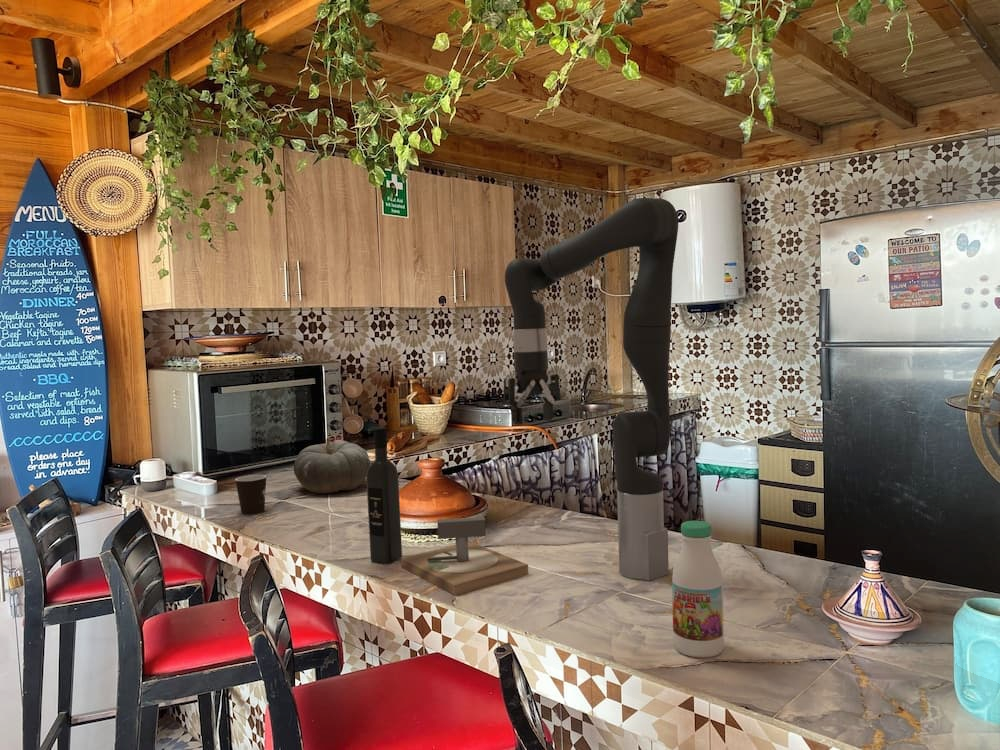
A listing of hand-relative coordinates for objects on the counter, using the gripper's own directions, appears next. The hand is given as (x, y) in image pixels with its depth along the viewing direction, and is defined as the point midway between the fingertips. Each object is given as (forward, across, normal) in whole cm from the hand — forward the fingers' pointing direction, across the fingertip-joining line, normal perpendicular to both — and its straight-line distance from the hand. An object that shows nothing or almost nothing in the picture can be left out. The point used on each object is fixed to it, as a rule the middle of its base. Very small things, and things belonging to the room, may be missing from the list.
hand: (533, 422), depth 164 cm
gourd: (+30, -6, +98) cm, 103 cm away
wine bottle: (+30, -28, +20) cm, 46 cm away
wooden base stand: (+30, -19, +2) cm, 35 cm away
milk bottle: (+31, -11, -54) cm, 63 cm away
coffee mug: (+30, -35, +89) cm, 100 cm away
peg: (+28, -20, +3) cm, 34 cm away
